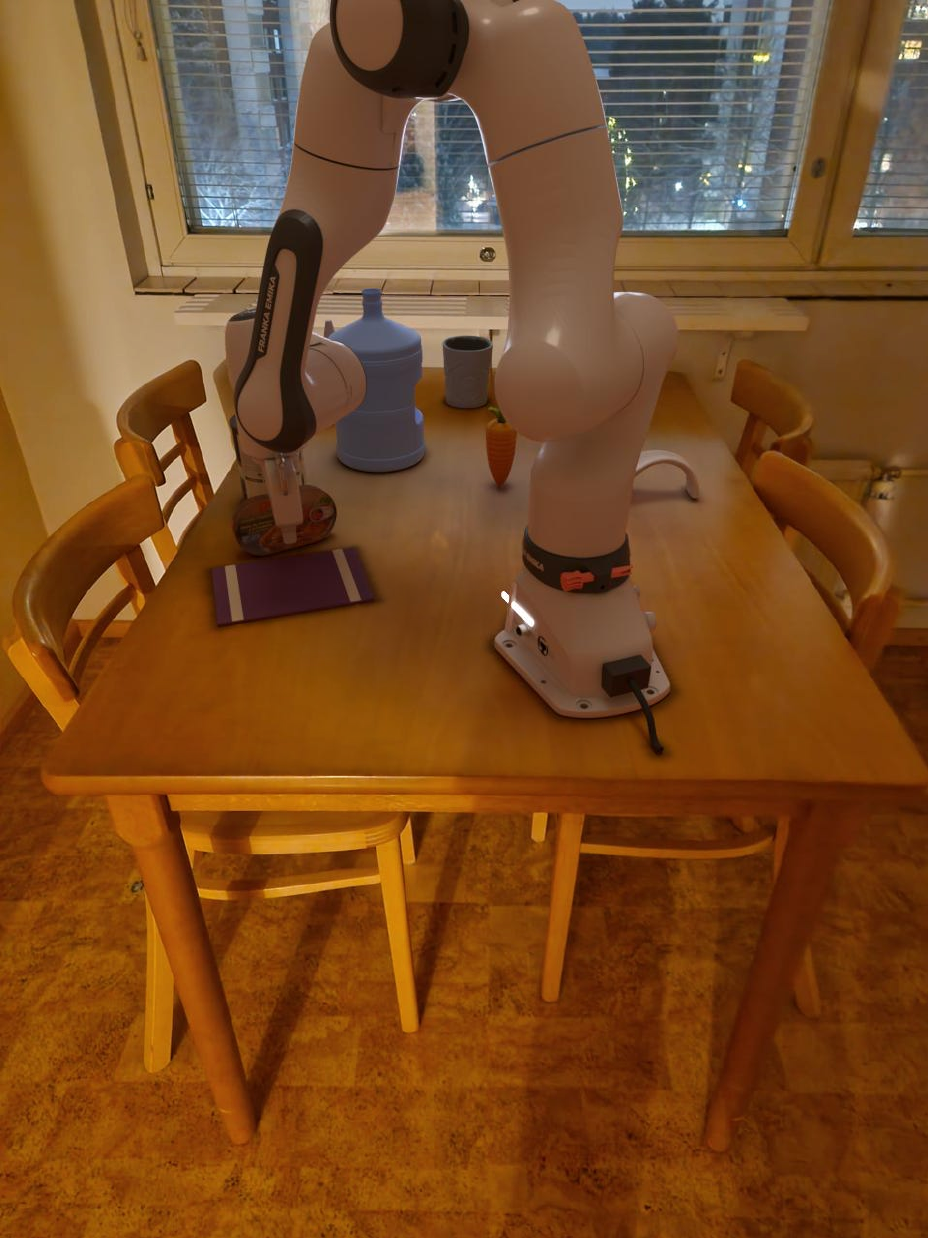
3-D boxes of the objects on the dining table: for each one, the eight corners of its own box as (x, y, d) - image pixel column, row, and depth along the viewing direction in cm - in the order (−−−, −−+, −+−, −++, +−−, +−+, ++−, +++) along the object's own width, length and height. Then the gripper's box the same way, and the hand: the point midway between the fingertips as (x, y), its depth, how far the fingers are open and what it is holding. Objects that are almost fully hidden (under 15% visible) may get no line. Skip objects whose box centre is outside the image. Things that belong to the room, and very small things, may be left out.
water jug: (371, 482, 135) (359, 308, 119) (320, 454, 145) (302, 289, 129) (443, 457, 144) (440, 291, 128) (390, 432, 153) (381, 275, 137)
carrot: (512, 494, 132) (515, 405, 123) (482, 491, 132) (483, 402, 124) (516, 481, 136) (520, 394, 127) (487, 478, 136) (489, 391, 128)
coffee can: (231, 502, 129) (215, 417, 121) (285, 482, 135) (274, 400, 127) (267, 523, 123) (253, 436, 115) (322, 502, 129) (313, 417, 121)
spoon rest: (555, 513, 126) (558, 471, 122) (545, 481, 136) (547, 440, 132) (704, 510, 127) (713, 467, 123) (684, 478, 137) (690, 438, 133)
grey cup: (461, 389, 173) (462, 332, 166) (501, 399, 168) (503, 340, 161) (433, 403, 166) (431, 343, 159) (473, 413, 161) (473, 353, 154)
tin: (240, 562, 114) (230, 508, 109) (234, 552, 116) (224, 499, 111) (340, 536, 120) (335, 484, 115) (332, 527, 122) (327, 476, 117)
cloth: (374, 600, 106) (374, 597, 106) (218, 626, 101) (217, 623, 101) (354, 549, 117) (354, 546, 117) (212, 570, 112) (211, 567, 112)
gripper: (307, 461, 101) (319, 557, 108) (287, 405, 117) (298, 493, 124) (256, 467, 99) (271, 564, 107) (242, 410, 115) (256, 498, 123)
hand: (285, 525), depth 116 cm, fingers open, 8 cm apart
